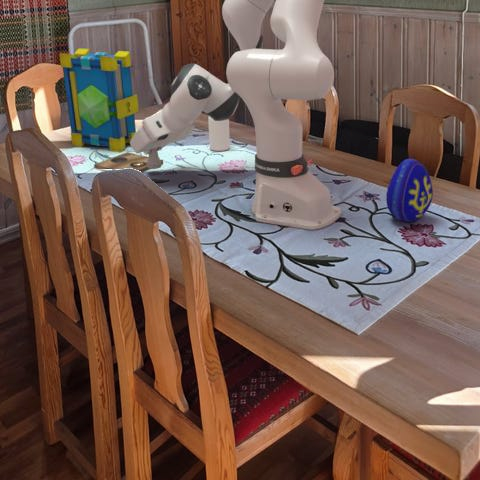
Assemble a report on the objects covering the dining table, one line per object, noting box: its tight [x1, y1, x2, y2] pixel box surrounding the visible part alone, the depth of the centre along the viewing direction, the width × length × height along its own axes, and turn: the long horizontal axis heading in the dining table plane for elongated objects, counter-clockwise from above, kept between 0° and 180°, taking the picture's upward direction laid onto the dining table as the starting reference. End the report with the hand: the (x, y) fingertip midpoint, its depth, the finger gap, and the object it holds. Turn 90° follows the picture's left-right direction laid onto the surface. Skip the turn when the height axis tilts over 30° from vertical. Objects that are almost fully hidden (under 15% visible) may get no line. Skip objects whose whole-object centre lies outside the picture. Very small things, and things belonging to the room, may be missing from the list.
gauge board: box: [93, 152, 164, 173], centre depth 206 cm, size 15×14×1 cm
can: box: [207, 116, 231, 153], centre depth 217 cm, size 6×6×12 cm
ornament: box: [385, 158, 434, 223], centre depth 161 cm, size 11×9×15 cm
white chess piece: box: [147, 148, 163, 170], centre depth 197 cm, size 4×4×8 cm
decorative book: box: [58, 47, 139, 153], centre depth 221 cm, size 14×23×30 cm, turn 62°
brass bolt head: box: [133, 162, 143, 166], centre depth 203 cm, size 3×3×1 cm
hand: (151, 150), depth 197 cm, fingers closed on white chess piece, 3 cm apart
